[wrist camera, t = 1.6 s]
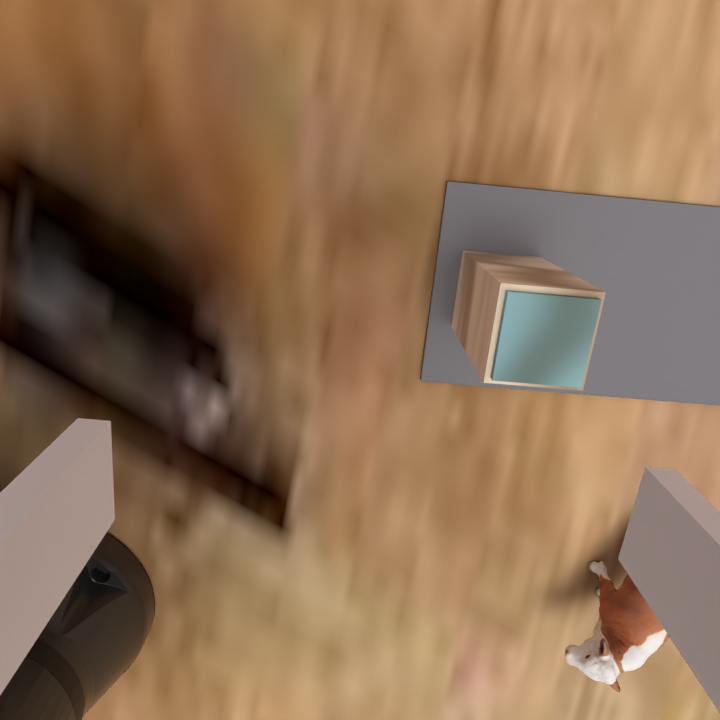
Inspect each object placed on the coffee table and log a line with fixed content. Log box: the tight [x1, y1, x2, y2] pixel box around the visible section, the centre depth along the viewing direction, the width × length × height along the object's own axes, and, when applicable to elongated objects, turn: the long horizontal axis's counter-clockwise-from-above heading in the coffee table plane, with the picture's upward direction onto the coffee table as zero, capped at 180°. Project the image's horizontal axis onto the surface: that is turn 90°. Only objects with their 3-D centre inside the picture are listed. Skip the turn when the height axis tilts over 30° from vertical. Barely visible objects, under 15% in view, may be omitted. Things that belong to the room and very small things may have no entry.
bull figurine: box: [565, 561, 669, 692], centre depth 41 cm, size 4×13×8 cm, turn 136°
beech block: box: [451, 250, 606, 391], centre depth 33 cm, size 5×5×10 cm
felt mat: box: [420, 181, 720, 405], centre depth 38 cm, size 22×13×1 cm, turn 85°
